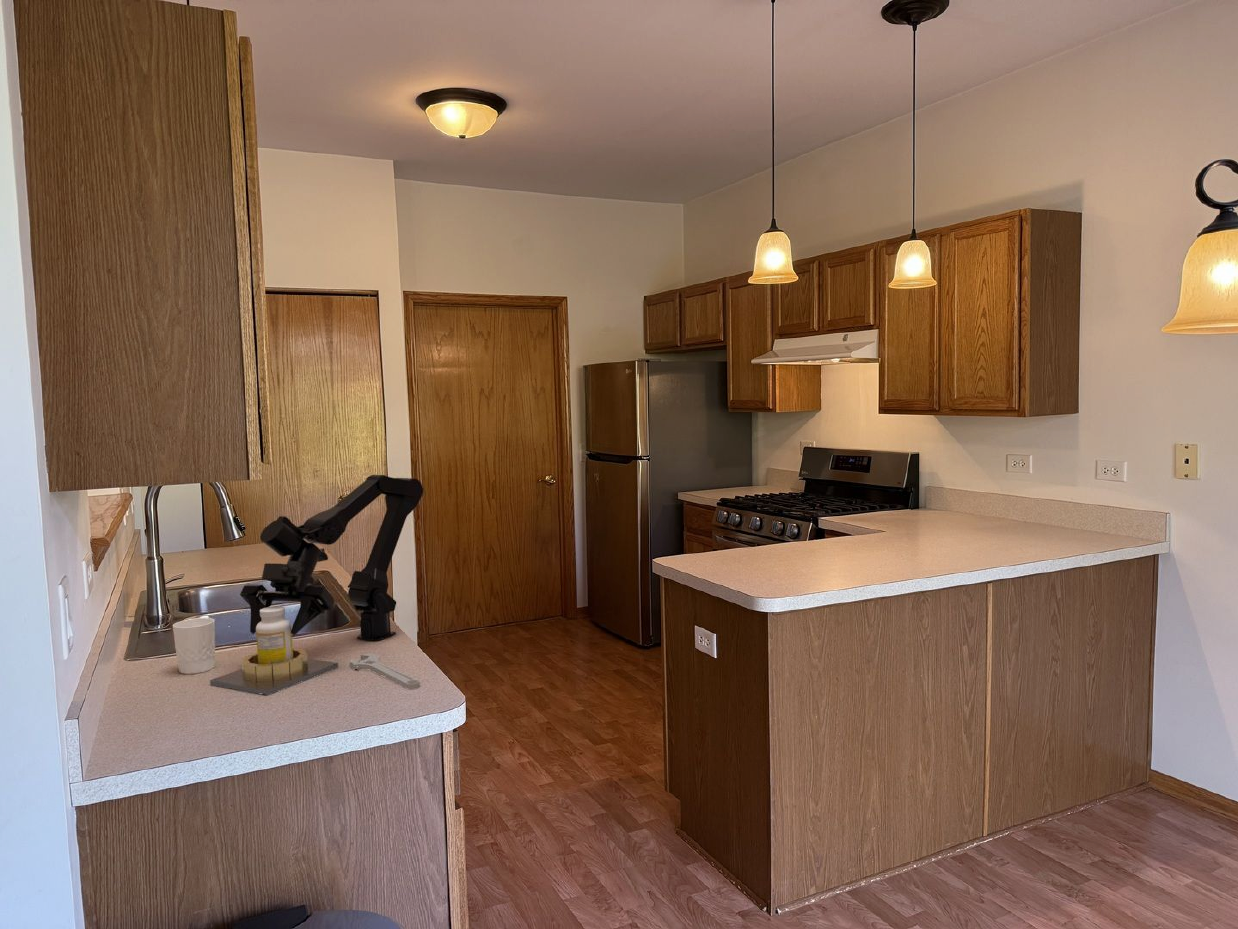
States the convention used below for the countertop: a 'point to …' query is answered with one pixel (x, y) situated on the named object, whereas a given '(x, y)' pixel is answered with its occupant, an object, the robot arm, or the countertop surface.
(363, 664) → the adjustable wrench
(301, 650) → the ring collar
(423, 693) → the countertop surface
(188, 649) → the white cup
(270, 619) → the supplement bottle
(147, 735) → the countertop surface
